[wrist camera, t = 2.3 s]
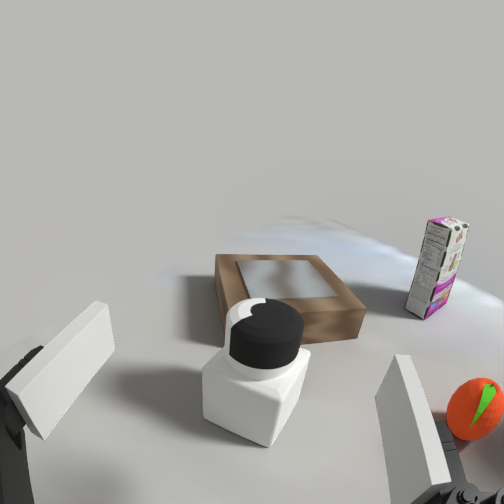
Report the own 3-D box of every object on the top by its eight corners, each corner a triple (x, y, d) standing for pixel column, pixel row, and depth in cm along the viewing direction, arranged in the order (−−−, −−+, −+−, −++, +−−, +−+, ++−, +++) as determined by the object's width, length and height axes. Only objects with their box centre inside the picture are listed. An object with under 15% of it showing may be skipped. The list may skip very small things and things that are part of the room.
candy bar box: (426, 293, 55) (448, 215, 49) (446, 303, 51) (471, 224, 45) (401, 308, 49) (427, 218, 43) (423, 321, 45) (453, 228, 39)
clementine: (470, 469, 18) (510, 424, 15) (422, 440, 23) (455, 394, 20) (488, 424, 23) (520, 379, 20) (447, 400, 28) (474, 355, 25)
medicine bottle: (298, 400, 29) (323, 304, 25) (269, 450, 23) (294, 352, 19) (237, 377, 32) (246, 281, 27) (201, 418, 26) (200, 317, 21)
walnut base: (312, 280, 56) (317, 253, 55) (357, 338, 40) (367, 305, 38) (214, 281, 53) (215, 252, 51) (227, 348, 36) (230, 313, 34)
